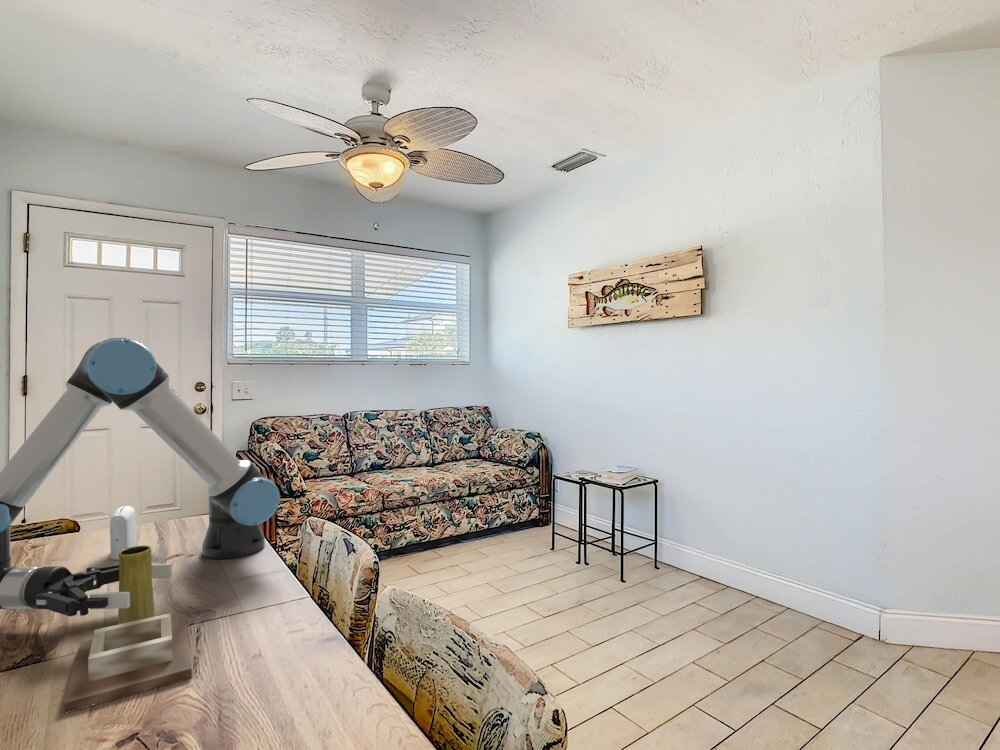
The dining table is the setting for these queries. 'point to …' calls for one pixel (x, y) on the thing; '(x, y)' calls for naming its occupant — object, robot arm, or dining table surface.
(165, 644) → the stand
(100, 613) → the dining table surface
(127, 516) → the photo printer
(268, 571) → the dining table surface
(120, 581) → the vase
